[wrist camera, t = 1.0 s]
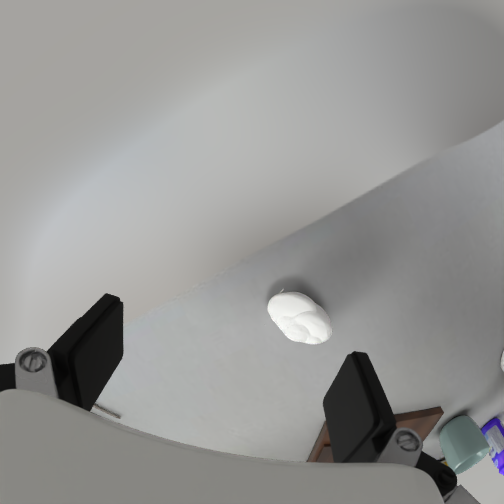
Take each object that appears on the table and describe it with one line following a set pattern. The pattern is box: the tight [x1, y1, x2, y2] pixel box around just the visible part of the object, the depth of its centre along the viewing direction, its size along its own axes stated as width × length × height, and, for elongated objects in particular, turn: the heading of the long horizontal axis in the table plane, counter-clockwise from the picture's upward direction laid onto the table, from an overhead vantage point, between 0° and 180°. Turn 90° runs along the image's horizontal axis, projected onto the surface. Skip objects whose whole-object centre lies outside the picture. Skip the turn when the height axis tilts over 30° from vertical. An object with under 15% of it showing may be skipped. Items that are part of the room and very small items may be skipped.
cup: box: [439, 415, 490, 475], centre depth 30 cm, size 8×8×10 cm
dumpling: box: [264, 289, 332, 344], centre depth 26 cm, size 7×5×4 cm
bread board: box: [307, 407, 444, 463], centre depth 34 cm, size 20×13×2 cm, turn 85°
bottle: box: [481, 418, 504, 475], centre depth 29 cm, size 7×6×17 cm
